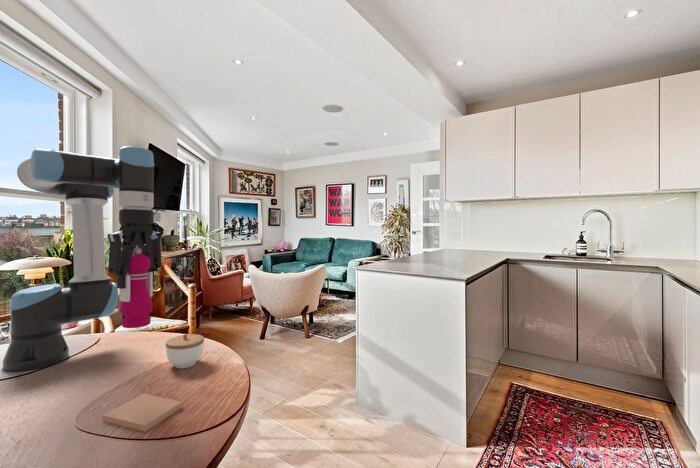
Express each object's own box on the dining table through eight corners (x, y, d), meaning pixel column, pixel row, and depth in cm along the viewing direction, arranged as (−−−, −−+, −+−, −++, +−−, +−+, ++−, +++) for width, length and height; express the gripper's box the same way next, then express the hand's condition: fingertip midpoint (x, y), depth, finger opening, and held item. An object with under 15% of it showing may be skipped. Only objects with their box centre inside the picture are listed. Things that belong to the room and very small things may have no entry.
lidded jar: (210, 358, 109) (210, 329, 109) (191, 372, 99) (191, 341, 98) (179, 356, 110) (179, 328, 110) (157, 370, 100) (157, 339, 99)
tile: (102, 415, 74) (145, 425, 70) (143, 393, 83) (182, 401, 80) (103, 423, 74) (145, 433, 70) (143, 400, 83) (182, 409, 80)
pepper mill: (159, 322, 90) (160, 247, 89) (133, 330, 83) (134, 249, 82) (139, 319, 92) (140, 246, 91) (112, 326, 85) (113, 247, 85)
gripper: (111, 207, 76) (111, 308, 77) (177, 210, 94) (176, 292, 95) (88, 206, 79) (88, 305, 79) (156, 210, 96) (156, 290, 97)
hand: (136, 298), depth 87 cm, fingers closed on pepper mill, 6 cm apart
